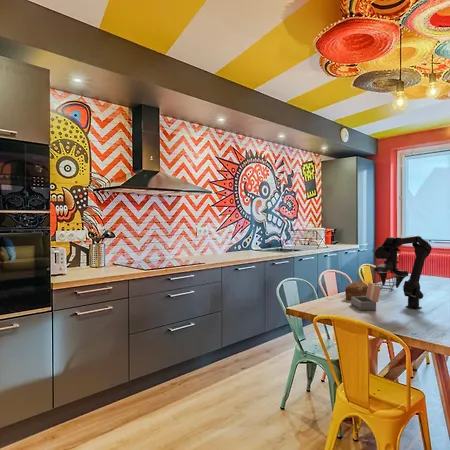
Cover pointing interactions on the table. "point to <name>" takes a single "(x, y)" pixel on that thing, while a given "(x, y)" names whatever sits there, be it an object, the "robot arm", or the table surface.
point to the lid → (373, 291)
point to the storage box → (363, 303)
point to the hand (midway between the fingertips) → (390, 286)
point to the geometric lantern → (379, 275)
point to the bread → (356, 290)
